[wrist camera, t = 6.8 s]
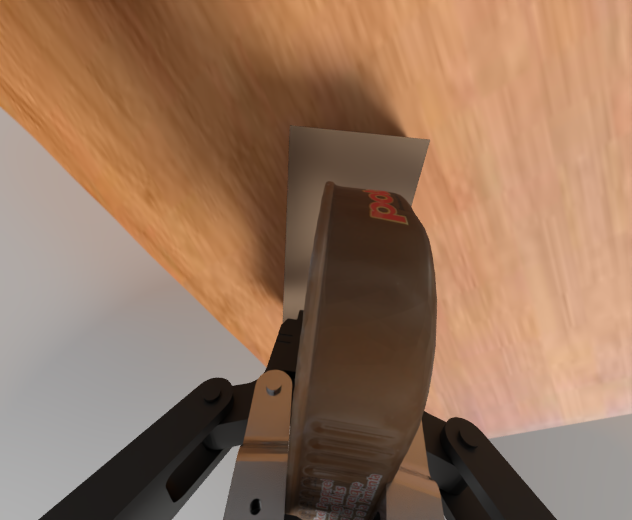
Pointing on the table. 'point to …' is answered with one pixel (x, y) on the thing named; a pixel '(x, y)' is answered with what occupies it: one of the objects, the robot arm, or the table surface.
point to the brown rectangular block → (344, 170)
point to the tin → (360, 353)
